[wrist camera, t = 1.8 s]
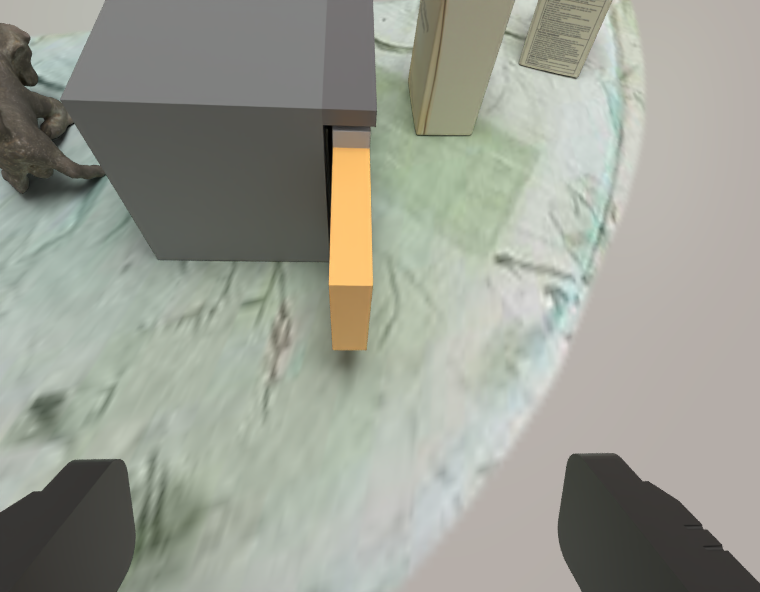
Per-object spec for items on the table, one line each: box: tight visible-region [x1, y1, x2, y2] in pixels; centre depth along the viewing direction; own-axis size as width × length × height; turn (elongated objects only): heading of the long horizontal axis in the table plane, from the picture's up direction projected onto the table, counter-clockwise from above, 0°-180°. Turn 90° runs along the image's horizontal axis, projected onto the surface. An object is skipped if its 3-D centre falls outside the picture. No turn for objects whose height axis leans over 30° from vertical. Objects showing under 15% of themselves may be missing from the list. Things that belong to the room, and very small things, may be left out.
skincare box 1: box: [408, 0, 515, 135], centre depth 31 cm, size 6×4×12 cm
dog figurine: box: [0, 23, 105, 194], centre depth 28 cm, size 12×6×7 cm, turn 28°
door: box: [329, 125, 373, 350], centre depth 24 cm, size 2×17×9 cm, turn 1°
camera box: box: [60, 0, 377, 262], centre depth 27 cm, size 12×15×12 cm
